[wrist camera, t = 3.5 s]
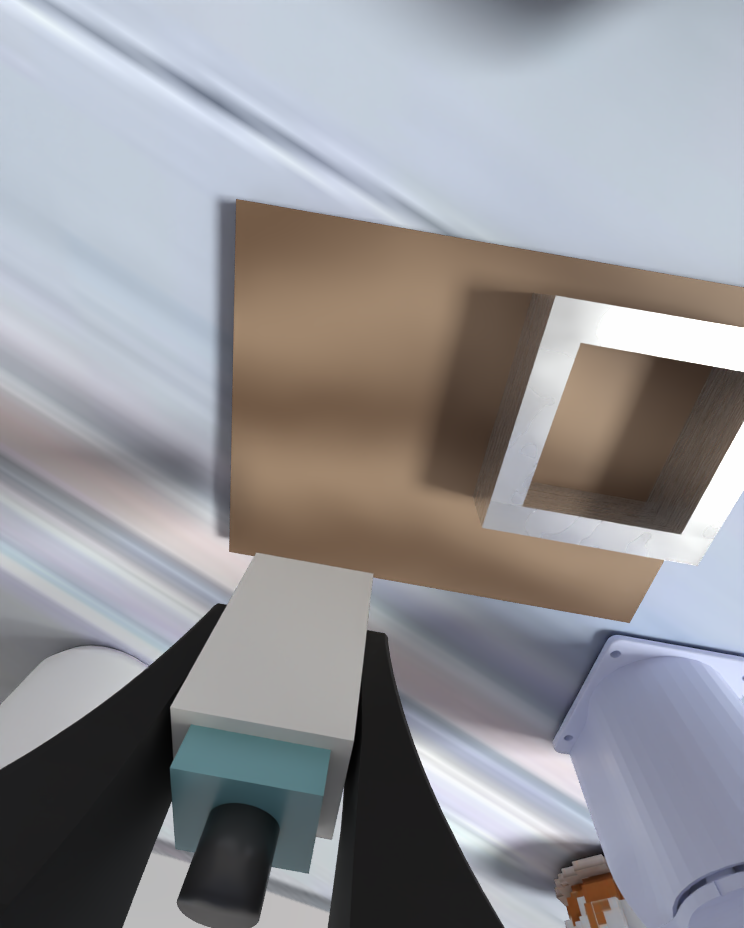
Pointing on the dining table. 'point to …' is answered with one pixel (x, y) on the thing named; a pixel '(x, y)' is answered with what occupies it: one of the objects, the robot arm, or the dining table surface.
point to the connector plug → (266, 733)
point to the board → (436, 404)
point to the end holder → (686, 469)
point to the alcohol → (61, 696)
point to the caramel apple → (593, 896)
